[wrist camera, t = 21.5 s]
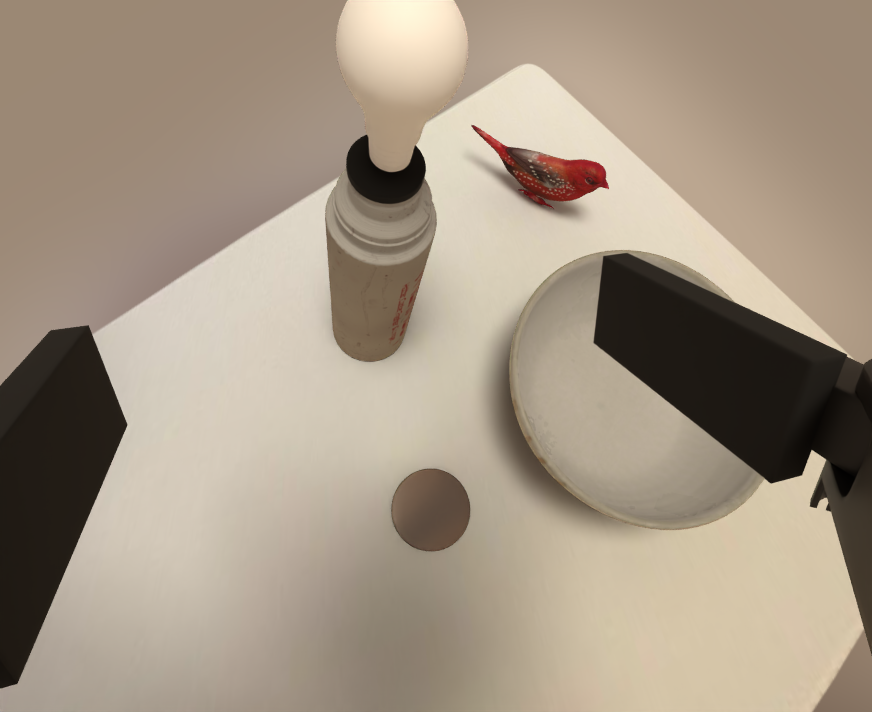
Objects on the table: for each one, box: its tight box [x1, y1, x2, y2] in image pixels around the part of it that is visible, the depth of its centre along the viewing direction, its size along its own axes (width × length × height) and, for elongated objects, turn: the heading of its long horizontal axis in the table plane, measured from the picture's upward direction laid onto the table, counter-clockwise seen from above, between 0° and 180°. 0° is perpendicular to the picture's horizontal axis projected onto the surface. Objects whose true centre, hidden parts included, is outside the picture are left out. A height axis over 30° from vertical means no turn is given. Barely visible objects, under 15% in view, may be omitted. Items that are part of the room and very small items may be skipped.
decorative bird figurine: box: [471, 125, 609, 209], centre depth 62 cm, size 3×18×10 cm, turn 62°
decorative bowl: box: [509, 250, 764, 530], centre depth 54 cm, size 27×27×12 cm
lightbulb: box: [336, 0, 468, 172], centre depth 26 cm, size 6×6×11 cm
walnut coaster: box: [391, 469, 470, 551], centre depth 53 cm, size 8×8×1 cm
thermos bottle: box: [325, 135, 437, 361], centre depth 45 cm, size 8×8×28 cm
